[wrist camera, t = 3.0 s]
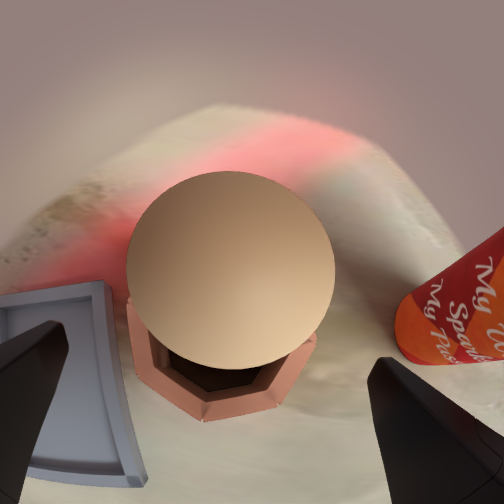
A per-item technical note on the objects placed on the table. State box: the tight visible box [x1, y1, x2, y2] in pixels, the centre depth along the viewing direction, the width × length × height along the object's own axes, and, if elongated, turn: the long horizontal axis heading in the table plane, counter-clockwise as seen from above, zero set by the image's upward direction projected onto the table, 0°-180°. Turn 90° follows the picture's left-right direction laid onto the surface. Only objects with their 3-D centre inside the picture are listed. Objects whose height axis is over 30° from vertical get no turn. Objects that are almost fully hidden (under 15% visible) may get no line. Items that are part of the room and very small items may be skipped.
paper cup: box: [394, 227, 504, 365], centre depth 12 cm, size 8×8×14 cm
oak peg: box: [126, 171, 335, 369], centre depth 10 cm, size 4×4×12 cm
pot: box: [126, 296, 317, 422], centre depth 14 cm, size 8×8×5 cm
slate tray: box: [0, 280, 148, 488], centre depth 13 cm, size 12×9×2 cm
